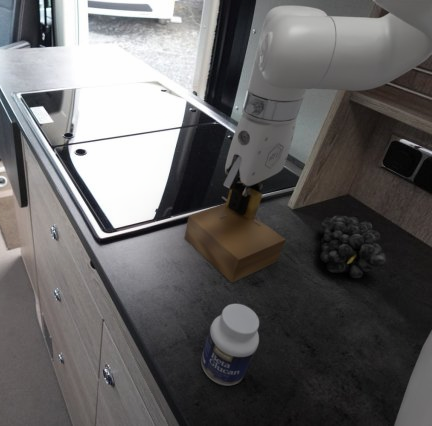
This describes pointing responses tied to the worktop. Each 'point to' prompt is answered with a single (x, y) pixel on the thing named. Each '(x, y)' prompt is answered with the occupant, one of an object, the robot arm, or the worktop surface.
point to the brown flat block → (233, 241)
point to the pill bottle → (230, 345)
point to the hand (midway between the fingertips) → (241, 207)
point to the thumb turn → (250, 203)
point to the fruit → (350, 246)
